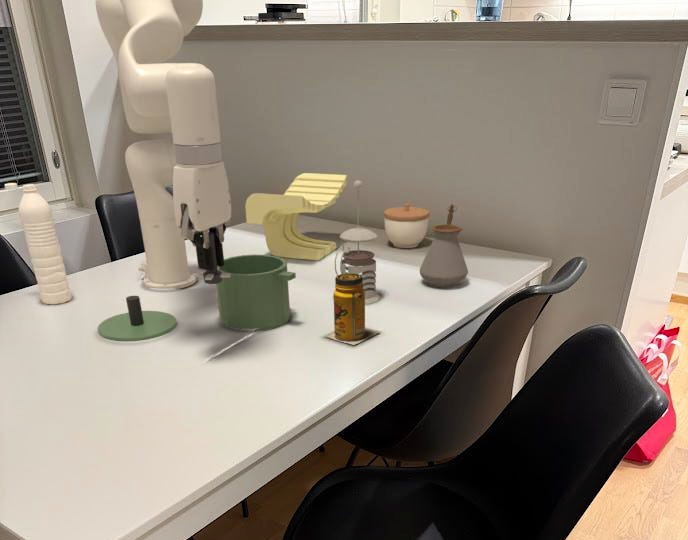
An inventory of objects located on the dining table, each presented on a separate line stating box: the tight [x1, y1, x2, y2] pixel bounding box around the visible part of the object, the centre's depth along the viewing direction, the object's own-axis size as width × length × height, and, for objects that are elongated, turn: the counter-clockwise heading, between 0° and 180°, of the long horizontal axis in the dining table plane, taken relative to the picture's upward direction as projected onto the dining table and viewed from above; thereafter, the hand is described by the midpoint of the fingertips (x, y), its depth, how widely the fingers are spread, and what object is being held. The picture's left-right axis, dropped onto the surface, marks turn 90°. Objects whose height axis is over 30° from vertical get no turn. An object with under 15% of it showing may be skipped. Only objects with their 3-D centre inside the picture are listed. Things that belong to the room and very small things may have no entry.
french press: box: [334, 179, 381, 305], centre depth 147 cm, size 10×12×25 cm
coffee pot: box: [419, 204, 469, 289], centre depth 162 cm, size 21×12×15 cm, turn 168°
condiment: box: [325, 272, 380, 346], centre depth 132 cm, size 7×8×12 cm
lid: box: [97, 295, 178, 342], centre depth 137 cm, size 16×16×7 cm
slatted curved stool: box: [245, 172, 348, 261], centre depth 183 cm, size 30×16×18 cm, turn 159°
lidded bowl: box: [383, 203, 431, 249], centre depth 189 cm, size 13×13×11 cm
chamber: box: [215, 254, 297, 332], centre depth 141 cm, size 15×20×12 cm
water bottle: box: [4, 182, 73, 305], centre depth 149 cm, size 9×6×25 cm
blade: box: [194, 232, 231, 285], centre depth 119 cm, size 6×6×8 cm
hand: (211, 266), depth 120 cm, fingers closed on blade
